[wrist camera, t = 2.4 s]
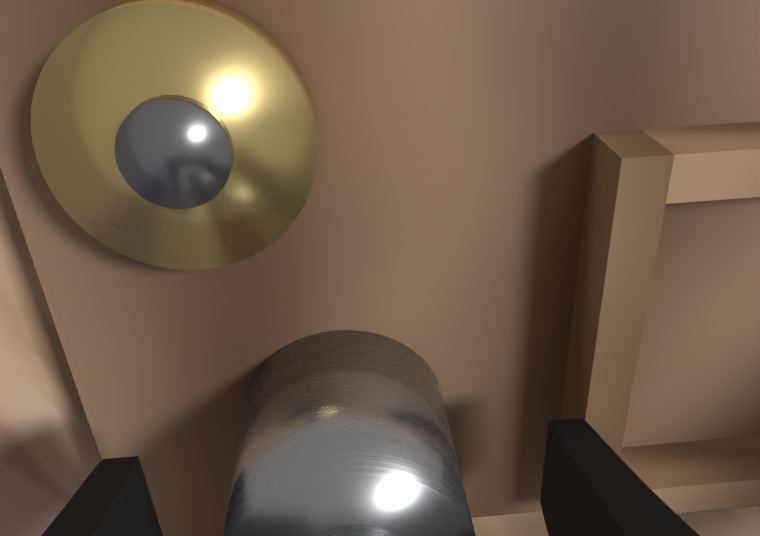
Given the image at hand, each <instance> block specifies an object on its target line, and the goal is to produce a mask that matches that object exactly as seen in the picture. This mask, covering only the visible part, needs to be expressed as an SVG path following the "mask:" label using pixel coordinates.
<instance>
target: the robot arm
mask: <svg viewBox="0 0 760 536" xmlns="http://www.w3.org/2000/svg"><path fill="white" fill-rule="evenodd" d="M540 503H541V507H542V511H543V515H544V519H545V523H546V527H547V531H548V534H549V536H700V535H698V534H697V533H696V532H695V531H694V530H693V529H692V528H691V527H690V526H689V525H688V524H687V523H685V522H684V521H683V520H682V519H681V518H680V517H679V516H678V515H677V514H676V513H675V512H674V511H673V510H672V509H671V508H670V507H669V506H668V505H667V504H666V503H665V502H664V501H663V500H662V499H661V498H659V497H658V496H657V495H656V494H655V493H654V492H653V491H652V490H651V489H650V488H649V487H648V486H647V485H646V484H645V483H644V482H643V481H642V480H641V479H640V478H639V477H638V476H637V475H636V473H635V472H634V471H633V470H632V469H631V468H630V467H629V466H628V465H627V464H626V463H625V462H624V461H623V460H622V459H621V458H620V457H619V456H618V455H617V454H616V452H615V451H614V450H613V449H612V448H611V447H610V446H609V445H608V444H607V443H606V442H605V441H604V440H603V439H602V437H601V436H600V435H599V434H598V433H597V432H596V431H595V430H594V429H593V428H592V427H591V426H590V424H589V423H588V422H587V421H585V420H584V419H583V418H575V419H563V420H552V421H548V431H547V440H546V449H545V459H544V468H543V477H542V487H541V496H540ZM41 536H163V534H162V531H161V527H160V524H159V521H158V518H157V515H156V511H155V508H154V505H153V502H152V498H151V495H150V492H149V489H148V485H147V482H146V479H145V476H144V472H143V469H142V466H141V463H140V460H139V456H132V457H120V458H109V459H102V461H101V462H100V463H99V464H98V465H97V466H96V467H95V469H94V470H93V471H92V472H91V474H90V475H89V476H88V477H87V479H86V480H85V481H84V483H83V484H82V485H81V486H80V488H79V489H78V490H77V492H76V493H75V494H74V495H73V497H72V498H71V499H70V500H69V502H68V503H67V504H66V506H65V507H64V508H63V509H62V511H61V512H60V513H59V514H58V516H57V517H56V518H55V519H54V521H53V522H52V523H51V524H50V526H49V527H48V528H47V529H46V531H45V532H44V533H43V534H42V535H41Z"/></svg>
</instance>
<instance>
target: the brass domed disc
mask: <svg viewBox="0 0 760 536" xmlns="http://www.w3.org/2000/svg"><path fill="white" fill-rule="evenodd" d="M31 134H32V143H33V147H34V151H35V155H36V159H37V162H38V164H39V167H40V170H41V172H42V175H43V177H44V179H45V181H46V183H47V185H48V186H49V188H50V190H51V192H52V194H53V195H54V196H55V198H56V199H57V201H58V202H59V203H60V205H61V206H62V208H63V209H64V210H65V211H66V212H67V213H68V214H69V216H70V217H71V218H72V219H73V220H74V221H75V222H76V223H77V224H78V225H79V226H80V227H82V228H83V229H84V230H85V231H86V232H87V233H88V234H90V235H91V236H92V237H94V238H95V239H97V240H98V241H99V242H101V243H102V244H104V245H106V246H107V247H109V248H111V249H113V250H114V251H116V252H118V253H120V254H122V255H125V256H127V257H129V258H132V259H134V260H137V261H140V262H143V263H146V264H149V265H153V266H158V267H163V268H168V269H179V270H204V269H212V268H219V267H223V266H227V265H230V264H234V263H237V262H239V261H242V260H245V259H247V258H249V257H251V256H253V255H255V254H257V253H259V252H260V251H262V250H264V249H265V248H267V247H268V246H269V245H271V244H272V243H274V242H275V241H276V240H277V239H278V238H279V237H280V236H281V235H282V234H283V233H284V232H286V231H287V229H288V228H289V227H290V226H291V224H292V223H293V222H294V221H295V219H296V218H297V216H298V215H299V213H300V211H301V210H302V208H303V206H304V205H305V202H306V200H307V197H308V195H309V193H310V190H311V187H312V183H313V179H314V175H315V167H316V158H317V124H316V116H315V110H314V104H313V101H312V98H311V95H310V91H309V88H308V86H307V84H306V82H305V79H304V77H303V75H302V73H301V71H300V70H299V68H298V66H297V65H296V63H295V61H294V60H293V58H292V57H291V55H290V54H289V53H288V52H287V50H286V49H285V48H284V47H283V45H282V44H281V43H280V42H279V41H278V40H277V39H276V38H275V37H274V36H273V35H272V34H271V33H270V32H269V31H268V30H266V29H265V28H264V27H263V26H261V25H260V24H259V23H257V22H256V21H255V20H253V19H252V18H250V17H249V16H247V15H245V14H243V13H242V12H240V11H238V10H237V9H235V8H232V7H230V6H228V5H225V4H223V3H221V2H218V1H215V0H126V1H124V2H122V3H119V4H117V5H115V6H113V7H110V8H109V9H107V10H105V11H103V12H102V13H100V14H98V15H96V16H95V17H93V18H91V19H89V20H88V21H86V22H85V23H83V24H82V25H80V26H79V27H77V28H76V29H74V30H73V31H72V32H71V33H70V34H69V35H68V36H67V37H66V38H64V39H63V40H62V41H61V42H60V44H59V45H58V46H57V47H56V49H55V50H54V51H53V52H52V54H51V55H50V56H49V58H48V60H47V62H46V63H45V65H44V67H43V69H42V71H41V73H40V75H39V78H38V81H37V84H36V86H35V90H34V95H33V100H32V105H31Z"/></svg>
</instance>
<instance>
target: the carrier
mask: <svg viewBox="0 0 760 536" xmlns="http://www.w3.org/2000/svg"><path fill="white" fill-rule="evenodd" d="M124 1H126V0H0V168H1V171H2V174H3V177H4V180H5V183H6V185H7V188H8V191H9V194H10V197H11V200H12V203H13V206H14V209H15V211H16V214H17V217H18V220H19V223H20V226H21V229H22V232H23V235H24V237H25V240H26V243H27V246H28V249H29V252H30V255H31V258H32V261H33V263H34V266H35V269H36V272H37V275H38V278H39V281H40V284H41V287H42V289H43V292H44V295H45V298H46V301H47V304H48V307H49V310H50V313H51V315H52V318H53V321H54V324H55V327H56V330H57V333H58V336H59V339H60V341H61V344H62V347H63V350H64V353H65V356H66V359H67V362H68V364H69V367H70V370H71V373H72V376H73V379H74V382H75V385H76V388H77V390H78V393H79V396H80V399H81V402H82V405H83V408H84V411H85V414H86V416H87V419H88V422H89V425H90V428H91V431H92V434H93V437H94V440H95V442H96V445H97V448H98V451H99V454H100V457H101V460H102V459H109V458H120V457H132V456H139V460H140V463H141V466H142V469H143V472H144V476H145V479H146V482H147V485H148V489H149V492H150V495H151V498H152V502H153V505H154V508H155V511H156V515H157V518H158V521H159V524H160V527H161V531H162V534H163V536H224V530H225V524H226V517H227V510H228V504H229V497H230V490H231V483H232V477H233V470H234V463H235V457H236V450H237V443H238V436H239V430H240V423H241V416H242V410H243V403H244V398H245V394H246V390H247V387H248V385H249V383H250V380H251V379H252V377H253V376H254V374H255V372H256V371H257V370H258V368H259V367H260V366H261V365H262V364H263V363H264V361H266V360H267V359H268V358H269V357H270V356H271V355H272V354H274V353H275V352H277V351H278V350H279V349H281V348H282V347H284V346H286V345H288V344H290V343H292V342H294V341H296V340H298V339H301V338H304V337H306V336H309V335H313V334H317V333H321V332H327V331H335V330H357V331H366V332H371V333H377V334H380V335H383V336H386V337H390V338H392V339H394V340H396V341H398V342H401V343H403V344H404V345H406V346H407V347H409V348H411V349H412V350H413V351H415V352H416V353H417V354H418V355H419V356H421V357H422V358H423V359H424V361H425V362H426V363H427V364H428V365H429V366H430V368H431V369H432V371H433V372H434V374H435V376H436V378H437V381H438V383H439V386H440V390H441V394H442V398H443V402H444V406H445V411H446V415H447V419H448V423H449V427H450V432H451V436H452V440H453V444H454V448H455V453H456V457H457V461H458V465H459V469H460V473H461V478H462V482H463V486H464V490H465V494H466V499H467V503H468V507H469V511H470V515H471V518H473V517H484V516H494V515H505V514H515V513H526V512H537V511H542V507H541V503H540V496H541V487H542V477H543V468H544V459H545V449H546V440H547V431H548V421H552V420H563V419H575V418H583V419H584V420H585V421H587V422H588V423H589V424H590V426H591V427H592V428H593V429H594V430H595V431H596V432H597V433H598V434H599V435H600V436H601V437H602V439H603V440H604V441H605V442H606V443H607V444H608V445H609V446H610V447H611V448H612V449H613V450H614V451H615V452H616V454H617V455H618V456H619V457H620V458H621V459H622V460H623V461H624V462H625V463H626V464H627V465H628V466H629V467H630V468H631V469H632V470H633V471H634V472H635V473H636V475H637V476H638V477H639V478H640V479H641V480H642V481H643V482H644V483H645V484H646V485H647V486H648V487H649V488H650V489H651V490H652V491H653V492H654V493H655V494H656V495H657V496H658V497H659V498H661V499H662V500H663V501H664V502H665V503H666V504H667V505H668V506H669V507H670V508H671V509H672V510H673V511H674V512H675V513H676V514H677V513H688V512H698V511H709V510H719V509H729V508H740V507H750V506H760V0H215V1H218V2H221V3H223V4H225V5H228V6H230V7H232V8H235V9H237V10H238V11H240V12H242V13H243V14H245V15H247V16H249V17H250V18H252V19H253V20H255V21H256V22H257V23H259V24H260V25H261V26H263V27H264V28H265V29H266V30H268V31H269V32H270V33H271V34H272V35H273V36H274V37H275V38H276V39H277V40H278V41H279V42H280V43H281V44H282V45H283V47H284V48H285V49H286V50H287V52H288V53H289V54H290V55H291V57H292V58H293V60H294V61H295V63H296V65H297V66H298V68H299V70H300V71H301V73H302V75H303V77H304V79H305V82H306V84H307V86H308V88H309V91H310V95H311V98H312V101H313V104H314V110H315V116H316V124H317V158H316V167H315V175H314V179H313V183H312V187H311V190H310V193H309V195H308V197H307V200H306V202H305V205H304V206H303V208H302V210H301V211H300V213H299V215H298V216H297V218H296V219H295V221H294V222H293V223H292V224H291V226H290V227H289V228H288V229H287V231H286V232H284V233H283V234H282V235H281V236H280V237H279V238H278V239H277V240H276V241H275V242H274V243H272V244H271V245H269V246H268V247H267V248H265V249H264V250H262V251H260V252H259V253H257V254H255V255H253V256H251V257H249V258H247V259H245V260H242V261H239V262H237V263H234V264H230V265H227V266H223V267H219V268H212V269H204V270H179V269H168V268H163V267H158V266H153V265H149V264H146V263H143V262H140V261H137V260H134V259H132V258H129V257H127V256H125V255H122V254H120V253H118V252H116V251H114V250H113V249H111V248H109V247H107V246H106V245H104V244H102V243H101V242H99V241H98V240H97V239H95V238H94V237H92V236H91V235H90V234H88V233H87V232H86V231H85V230H84V229H83V228H82V227H80V226H79V225H78V224H77V223H76V222H75V221H74V220H73V219H72V218H71V217H70V216H69V214H68V213H67V212H66V211H65V210H64V209H63V208H62V206H61V205H60V203H59V202H58V201H57V199H56V198H55V196H54V195H53V194H52V192H51V190H50V188H49V186H48V185H47V183H46V181H45V179H44V177H43V175H42V172H41V170H40V167H39V164H38V162H37V159H36V155H35V151H34V147H33V143H32V134H31V105H32V100H33V95H34V90H35V86H36V84H37V81H38V78H39V75H40V73H41V71H42V69H43V67H44V65H45V63H46V62H47V60H48V58H49V56H50V55H51V54H52V52H53V51H54V50H55V49H56V47H57V46H58V45H59V44H60V42H61V41H62V40H63V39H64V38H66V37H67V36H68V35H69V34H70V33H71V32H72V31H73V30H74V29H76V28H77V27H79V26H80V25H82V24H83V23H85V22H86V21H88V20H89V19H91V18H93V17H95V16H96V15H98V14H100V13H102V12H103V11H105V10H107V9H109V8H110V7H113V6H115V5H117V4H119V3H122V2H124Z"/></svg>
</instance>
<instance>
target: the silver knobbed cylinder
mask: <svg viewBox="0 0 760 536" xmlns="http://www.w3.org/2000/svg"><path fill="white" fill-rule="evenodd" d="M224 536H475V532H474V528H473V524H472V519H471V515H470V511H469V507H468V503H467V499H466V494H465V490H464V486H463V482H462V478H461V473H460V469H459V465H458V461H457V457H456V453H455V448H454V444H453V440H452V436H451V432H450V427H449V423H448V419H447V415H446V411H445V406H444V402H443V398H442V394H441V390H440V386H439V383H438V381H437V378H436V376H435V374H434V372H433V371H432V369H431V368H430V366H429V365H428V364H427V363H426V362H425V361H424V359H423V358H422V357H421V356H419V355H418V354H417V353H416V352H415V351H413V350H412V349H411V348H409V347H407V346H406V345H404V344H403V343H401V342H398V341H396V340H394V339H392V338H390V337H386V336H383V335H380V334H377V333H371V332H366V331H357V330H335V331H327V332H321V333H317V334H313V335H309V336H306V337H304V338H301V339H298V340H296V341H294V342H292V343H290V344H288V345H286V346H284V347H282V348H281V349H279V350H278V351H277V352H275V353H274V354H272V355H271V356H270V357H269V358H268V359H267V360H266V361H264V363H263V364H262V365H261V366H260V367H259V368H258V370H257V371H256V372H255V374H254V376H253V377H252V379H251V380H250V383H249V385H248V387H247V390H246V394H245V398H244V403H243V410H242V416H241V423H240V430H239V436H238V443H237V450H236V457H235V463H234V470H233V477H232V483H231V490H230V497H229V504H228V510H227V517H226V524H225V530H224Z"/></svg>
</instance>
